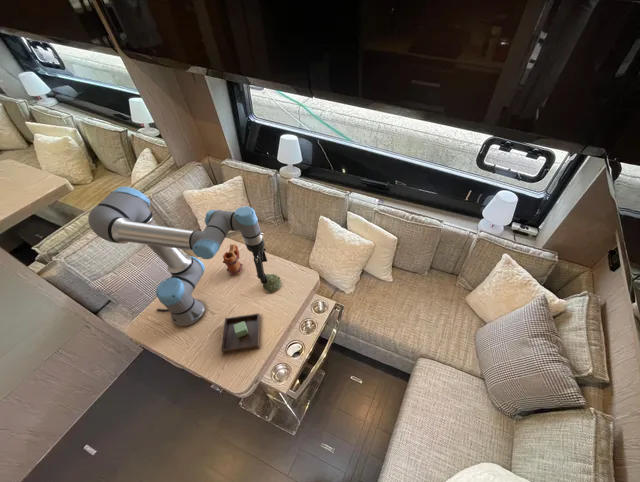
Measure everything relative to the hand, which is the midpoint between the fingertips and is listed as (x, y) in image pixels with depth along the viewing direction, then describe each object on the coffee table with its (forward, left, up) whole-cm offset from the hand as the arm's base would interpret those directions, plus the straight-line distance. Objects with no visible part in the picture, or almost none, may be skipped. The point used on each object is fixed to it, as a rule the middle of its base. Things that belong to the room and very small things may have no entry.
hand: (264, 271), depth 132 cm
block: (-15, -17, -24) cm, 33 cm away
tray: (-15, -18, -24) cm, 34 cm away
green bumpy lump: (-1, +11, -25) cm, 27 cm away
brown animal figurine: (-21, +27, -25) cm, 42 cm away
